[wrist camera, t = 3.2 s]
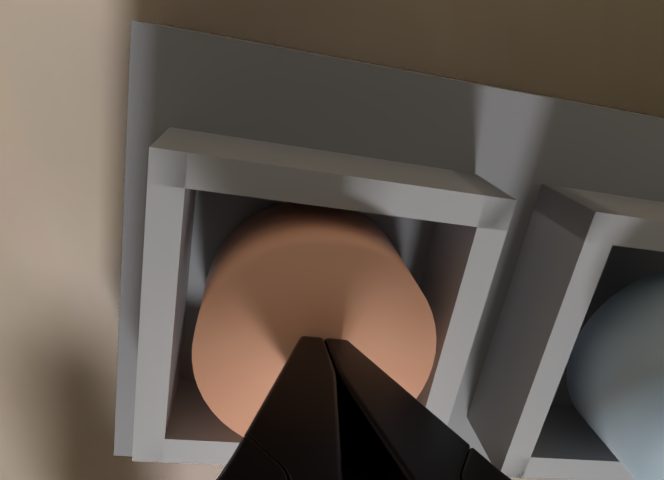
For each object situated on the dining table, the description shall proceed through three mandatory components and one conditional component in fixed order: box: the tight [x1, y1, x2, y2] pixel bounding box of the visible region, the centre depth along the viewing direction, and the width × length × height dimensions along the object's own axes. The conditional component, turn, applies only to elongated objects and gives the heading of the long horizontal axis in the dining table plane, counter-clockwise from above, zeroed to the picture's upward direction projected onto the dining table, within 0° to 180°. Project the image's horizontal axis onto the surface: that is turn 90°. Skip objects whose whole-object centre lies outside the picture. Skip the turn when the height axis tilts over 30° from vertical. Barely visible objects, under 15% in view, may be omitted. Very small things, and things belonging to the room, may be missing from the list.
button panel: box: [114, 20, 664, 480], centre depth 14 cm, size 24×10×5 cm, turn 80°
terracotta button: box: [192, 202, 436, 437], centre depth 10 cm, size 4×4×2 cm
